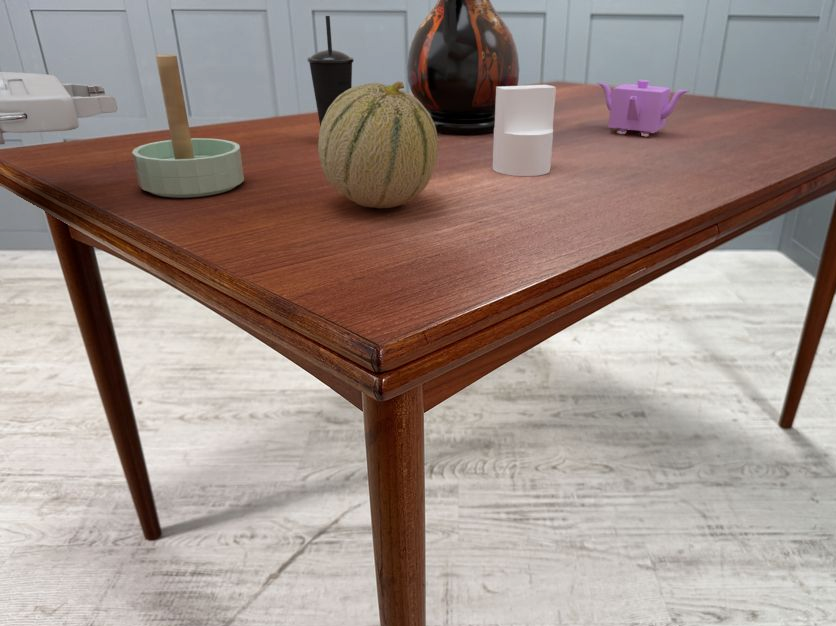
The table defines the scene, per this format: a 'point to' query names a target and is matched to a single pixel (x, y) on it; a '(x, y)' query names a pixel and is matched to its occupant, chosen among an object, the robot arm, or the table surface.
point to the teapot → (639, 106)
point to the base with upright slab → (523, 130)
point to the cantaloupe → (378, 145)
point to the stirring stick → (175, 106)
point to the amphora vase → (462, 65)
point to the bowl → (189, 168)
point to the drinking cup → (329, 74)
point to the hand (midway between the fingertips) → (109, 97)
